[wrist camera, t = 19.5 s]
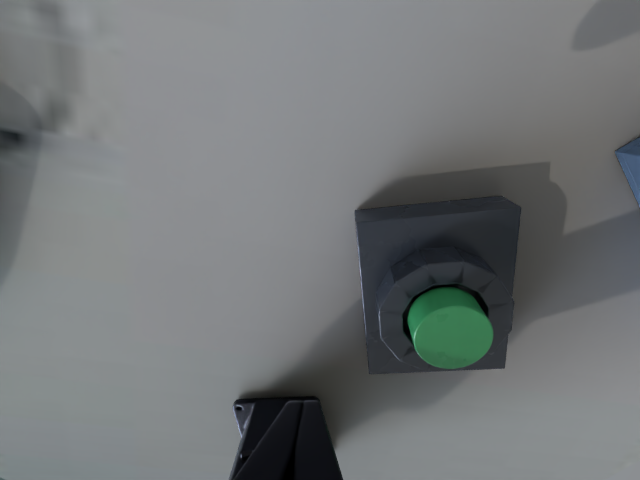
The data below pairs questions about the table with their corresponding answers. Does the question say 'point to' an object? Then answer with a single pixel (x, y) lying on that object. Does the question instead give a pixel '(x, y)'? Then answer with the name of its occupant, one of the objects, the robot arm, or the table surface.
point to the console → (435, 272)
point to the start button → (449, 328)
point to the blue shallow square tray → (631, 165)
